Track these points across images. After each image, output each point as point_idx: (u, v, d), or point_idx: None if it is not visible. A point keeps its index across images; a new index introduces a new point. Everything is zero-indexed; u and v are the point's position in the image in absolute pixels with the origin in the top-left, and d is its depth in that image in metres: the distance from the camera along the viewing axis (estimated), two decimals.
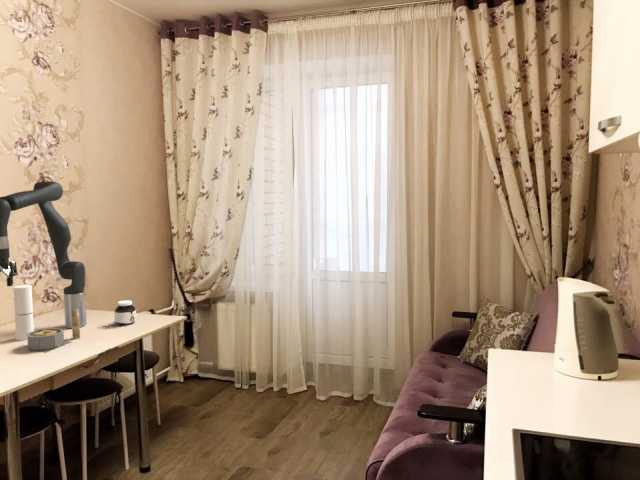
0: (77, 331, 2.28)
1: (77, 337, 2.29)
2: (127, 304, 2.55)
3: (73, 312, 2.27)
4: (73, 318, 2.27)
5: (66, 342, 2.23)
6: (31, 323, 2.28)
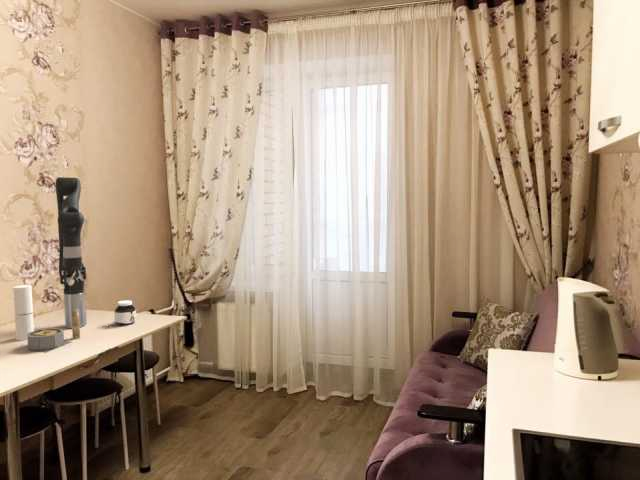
0: (77, 331, 2.28)
1: (77, 337, 2.29)
2: (127, 304, 2.55)
3: (73, 312, 2.27)
4: (73, 318, 2.27)
5: (66, 342, 2.23)
6: (31, 323, 2.28)
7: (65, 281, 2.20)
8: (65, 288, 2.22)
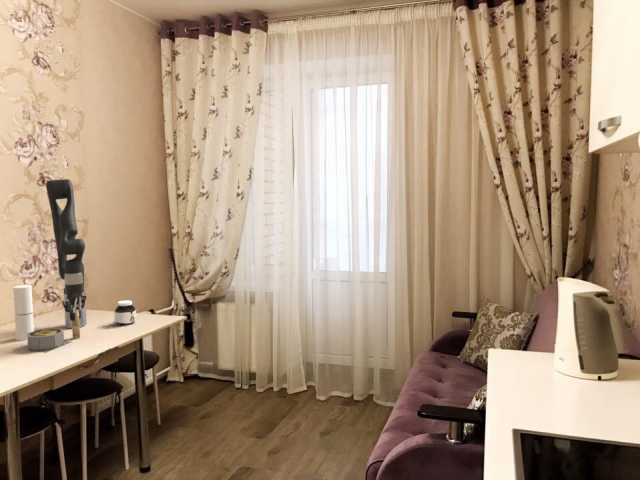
0: (77, 331, 2.28)
1: (77, 337, 2.29)
2: (127, 304, 2.55)
3: None
4: None
5: (66, 342, 2.23)
6: (31, 323, 2.28)
7: (70, 309, 2.24)
8: (70, 316, 2.26)
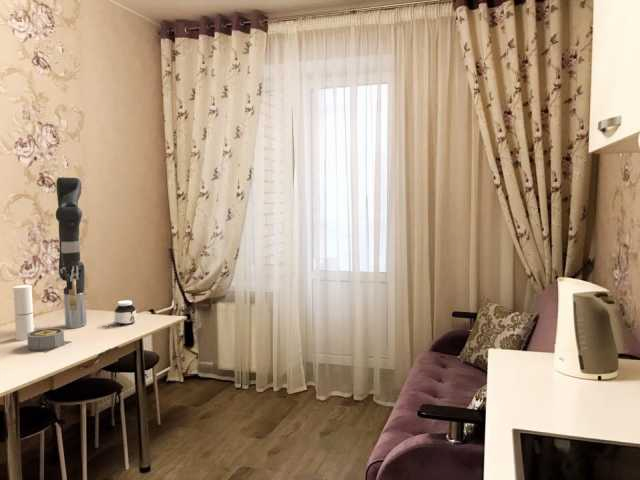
0: (74, 300, 2.26)
1: (74, 306, 2.27)
2: (127, 304, 2.55)
3: None
4: None
5: (66, 342, 2.23)
6: (31, 323, 2.28)
7: (67, 277, 2.22)
8: (67, 284, 2.24)
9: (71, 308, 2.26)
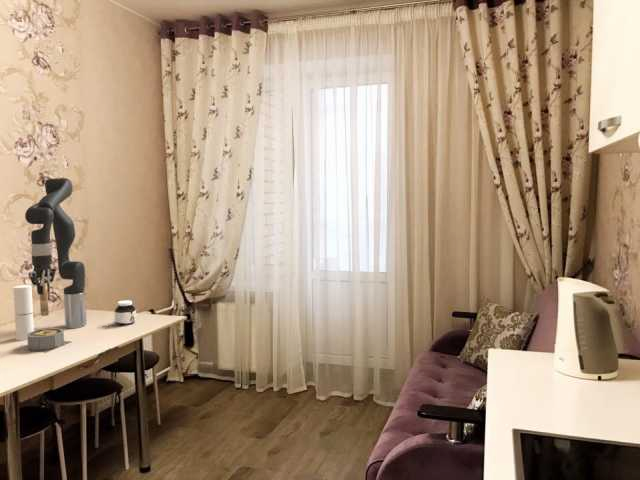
0: (45, 305, 2.16)
1: (45, 312, 2.16)
2: (127, 304, 2.55)
3: None
4: None
5: (66, 342, 2.23)
6: (31, 323, 2.28)
7: (38, 282, 2.11)
8: (38, 289, 2.13)
9: (42, 314, 2.15)
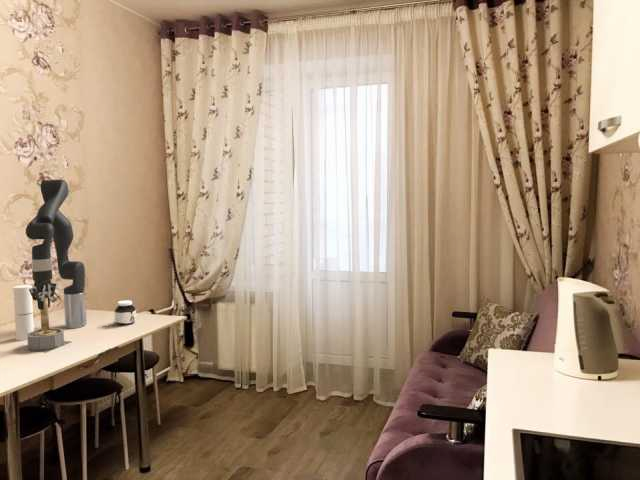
0: (46, 320, 2.16)
1: (46, 327, 2.16)
2: (127, 304, 2.55)
3: None
4: None
5: (66, 342, 2.23)
6: (31, 323, 2.28)
7: (38, 297, 2.12)
8: (38, 304, 2.14)
9: (43, 329, 2.16)
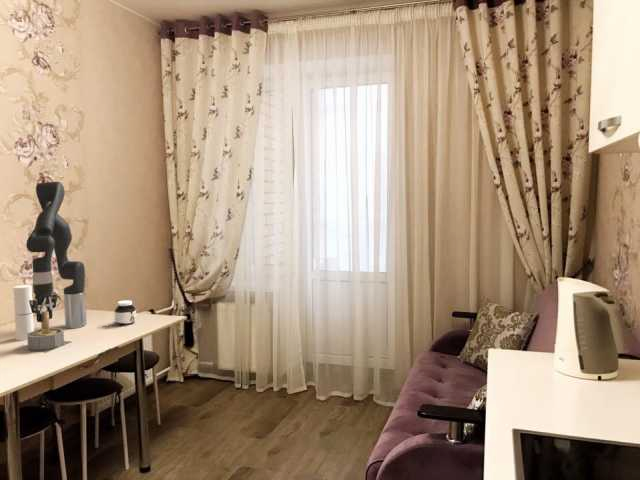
0: None
1: None
2: (127, 304, 2.55)
3: (42, 314, 2.15)
4: None
5: (66, 342, 2.23)
6: (31, 323, 2.28)
7: (37, 310, 2.11)
8: (37, 317, 2.13)
9: None
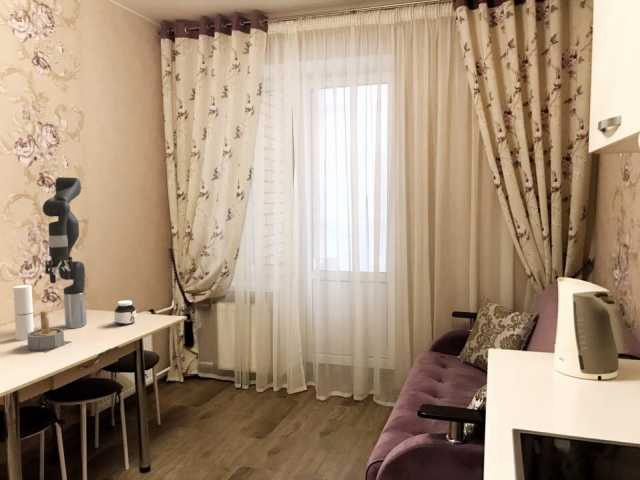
0: None
1: None
2: (127, 304, 2.55)
3: (42, 314, 2.15)
4: (42, 321, 2.16)
5: (66, 342, 2.23)
6: (31, 323, 2.28)
7: (50, 271, 2.16)
8: (51, 278, 2.18)
9: None
